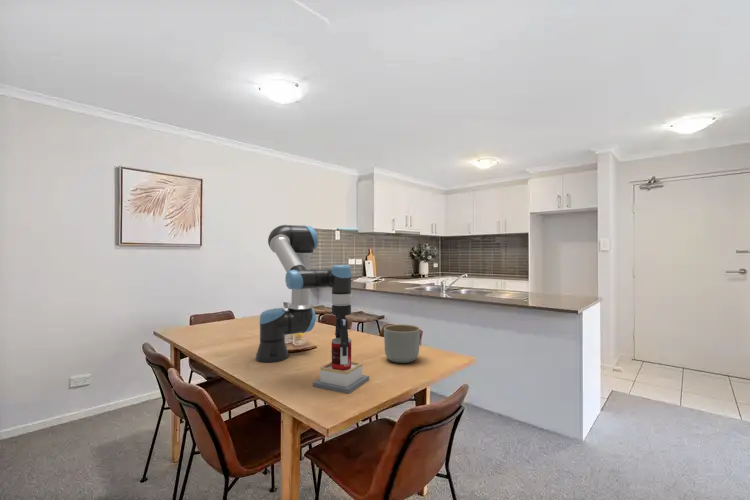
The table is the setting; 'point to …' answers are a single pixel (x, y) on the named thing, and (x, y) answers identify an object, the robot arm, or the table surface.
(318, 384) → the base
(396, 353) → the planter
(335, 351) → the canned food
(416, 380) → the table surface
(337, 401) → the table surface
